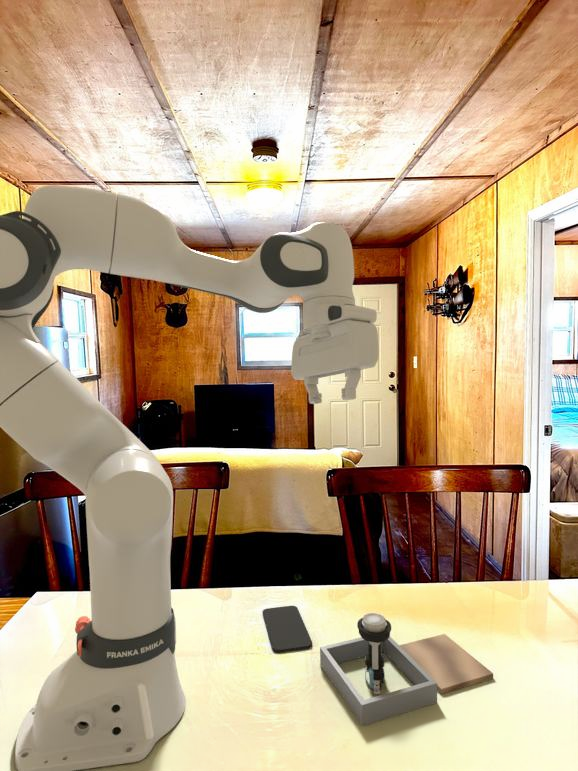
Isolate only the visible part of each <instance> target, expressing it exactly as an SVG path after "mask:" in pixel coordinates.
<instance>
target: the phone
mask: <svg viewBox="0 0 578 771" xmlns="http://www.w3.org/2000/svg"><path fill="white" fill-rule="evenodd" d="M262 616H263V620H264V625H265V629H266V632H267V635H268V636H267V637H268V640H269V642H270V645H271V650H272V652H274V653H276V654H280V653H281V654H282V653H288V652H289V653H291V652H296V651H303V650H308V649H311V648H312V647H313V640H312V639H311V636H310V633H309V632H308V629H307V627H306V625H305V622H304V620H303V618H302V615H301V613H300V611H299V609H298V607H297V606H296V605H286V606H285V605H283V606H279V607H278V606H276V607H269V608H265V609H263V610H262Z"/></svg>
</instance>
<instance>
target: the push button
mask: <svg viewBox="0 0 578 771" xmlns="http://www.w3.org/2000/svg"><path fill="white" fill-rule="evenodd" d="M357 630H358V634H359V635H360V638H361V637H362V639H364V640H366V641H368V654H366V655H365V657H364V664H365V666H366V667H365V669H364V672H365V674H364V676H365V680H367V673H368V675H369V676H368V678H369V686H370V687H369V688H370V689H373V691H374V694H375V695H379V694H380V693H381V692H380V690H382V684H384V682H385V681H386V678H385V668H384V667H385V656H384V655H383V654H382V652H381V644H380V643H381V642H384V641H385V640H387V639H388V638H389V637H391V631H392V624H391V622H390V621H389V620H387V619H386V618H385V616H384V615H383V614H380V613H376V612H369V613H366V614H364V615H363V616H362V618H360V619H358V621H357ZM380 695H381V694H380Z"/></svg>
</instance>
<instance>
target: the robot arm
mask: <svg viewBox="0 0 578 771" xmlns="http://www.w3.org/2000/svg"><path fill="white" fill-rule="evenodd" d="M23 210H24V211H21V210H20V211H19V210H14V211H11V212H8V213H4V214H1V215H0V428H1V429H2V430H3V431H4V433H6V434H7V435H8V436H9V437H10V438H11V439H12V440H14V441H15V442H16V443H17V444H18V445H19V446H20V447H21V448H22V449H23V450H25V451H26V452H27V453H28V454H29V455H30V456H31V457H32V458H33V459H34V460H36V461H37V462H40V463H42V464H43V465H45V466H46V467H48V468H49V469H51V470H52V471H54V472H55V473H57V474H58V475H60V476H62V477H63V478H64V479H65V480H67V481H68V482H70V484H72V485H73V486H75V487H76V488H77V489H79V491H81V493H83V495H84V496H85V518H86V535H87V536H86V538H87V551H88V552H87V553H88V567H89V583H90V584H89V586H90V587H89V589H90V609H91V610H90V611H91V613H90V614H91V618H89V617H88V616H87V615H82V616H80V617H78V618H77V620H76V621H75V628H74V632H75V634H76V644H75V645H76V651H75V652H74V653H72V654H71V655H70V656H69V657H67V659H65V660H64V661H63V662H62V663H60V664H59V665H58V666H57V667H56V668H54V669H53V670H52V671H51V672H50V674H49V675H48V676H47V677H46V679H45V681H44V683H43V684H42V686H41V688H40V691H39V694H38V697H37V699H36V702H35V704H34V705H33V706H32V707H31V708H30V710H28V712H27V714H26V715H25V716H24V718H23V721H22V723H21V724H20V727H19V729H18V733H17V736H16V740H15V741H16V742H15V748H14V762H15V764H14V765H15V767H16V770H17V771H79V770H87V769H94V768H101V767H109V766H114V765H115V766H116V765H122V764H123V765H124V764H130V763H136V762H141V761H142V760H144V759H145V758H146V757H147V756H148V755H149V754H150V753H151V751H152V749H153V748H154V746H155V745H156V743H157V742H158V741H159V740H160V739H161V738H162V737H164V736H165V735H166V734H167V733H169V732H170V731H171V730H172V729H173V728H175V726H176V725H177V724H178V723H179V720H180V719H181V718H182V717H183V714H184V711H185V709H186V704H187V703H186V696H185V693H184V691H183V690H184V689H183V688H182V685H181V681H180V678H179V673H178V667H177V662H176V656H175V651H176V644H177V625H176V617H175V613H174V608H173V607H172V592H171V590H172V589H171V586H172V585H171V550H172V541H173V540H172V539H173V537H172V536H173V522H174V521H173V517H174V515H173V512H174V490H173V484H172V481H171V479H170V477H169V475H168V472H166V470H165V469H164V467H163V465H162V464H161V463H160V460H158V457H157V456H156V455H155V454H154V452H152V451H151V450H150V449H149V448H148V447H147V446H146V445H145V444H144V443H143V442H142V441H141V440H140V439H139V438H138V437H137V436H136V435H135V433H133V432H132V431H131V430H130V429H129V428H128V427H127V426H126V425H125V424H123V422H122V421H121V420H119V418H117V417H116V416H115V415H114V414H113V413H112V412H111V411H110V410H109V409H108V408H107V407H106V406H105V405H104V404H103V403H102V402H100V400H98V398H97V397H95V396H94V394H93V393H92V392H91V391H90V390H88V388H87V387H86V386H85V385H84V384H83V383H82V382H81V381H80V380H79V379H78V378H77V377H76V376H75V375H74V374H73V373H72V372H71V371H70V370H69V369H68V368H67V367H66V366H65V365H64V364H63V363H62V362H61V361H59V359H58V358H57V357H56V355H55V354H53V353H52V352H51V351H50V350H49V349H48V348H47V347H46V346H45V345H44V344H43V343H42V342H41V340H40V339H39V337H37V334H36V333H35V332H34V330H33V329H34V327H35V326H36V325H37V323H38V322H39V320H40V319H41V317H42V316H43V314H44V313H45V312H46V310H47V309H48V307H49V306H50V304H51V301H52V299H53V296H54V289H55V288H54V287H55V286H54V285H55V284H54V283H55V279H56V277H57V276H58V275H60V274H62V273H64V272H68V271H71V270H85V269H86V270H90V271H95V272H99V273H105V274H109V275H117V276H123V277H129V278H135V279H143V280H151V281H156V282H159V283H160V282H161V283H166V284H170V285H173V286H177V287H181V288H186V289H189V290H193V291H198V292H203V293H207V294H212V295H216V296H220V297H224V298H228V299H230V300H232V301H234V302H236V303H238V304H239V305H241V306H242V307H244V308H245V309H247V310H249V311H251V312H255V313H258V314H259V313H260V314H266V313H270V312H274V311H275V310H277V309H278V308H279V307H281V306H282V305H283V304H284V303H285V302H286V301H287V300H288V299H290V298H291V297H293V296H295V297H300V298H301V299H302V311H303V314H302V316H303V329H302V330H300V331H299V333H298V334H297V337H296V339H295V341H294V343H293V345H292V353H291V366H290V367H291V370H290V371H291V372H290V373H291V376H292V378H293V379H294V380H297V381H304V383H303V384H304V386H305V390H306V392H307V394H308V403H309V404H310V405H311V404H312V405H316V404H321V403H323V402H322V401H323V399H322V397H323V396H322V395H323V394H322V393H320V392H319V389H318V385H319V379H320V378H321V379H322V378H327V377H331V376H336V375H342V374H344V377H346V380H345V384H344V387H342V388H341V399H342V400H344V401H352V400H356V399H357V388H358V386H359V382H360V379H361V378H362V376H361V374H362V372H361V370H367V369H368V370H369V369H372V368H375V367H376V365H377V363H378V360H379V357H380V356H379V350H380V349H379V335H378V329H377V326H376V325H375V323H376V322H377V318H378V317H377V316H378V314H377V313H378V312H377V310H375V309H373V308H369V307H364V306H359V305H356V298H355V296H354V295H355V294H354V292H353V285H354V280H355V265H354V264H355V261H354V252H353V246H352V242H351V239H350V236H349V234H348V232H347V231H346V230H345V228H344V227H342V226H340V225H337V224H336V223H332V222H327V221H325V222H324V221H323V222H322V221H321V222H315V223H312V224H310V225H309V226H308V227H307V228H304V229H302V230H300V231H296V232H278V233H275V234H271V236H269V237H268V238H267V239H265V240H264V241H263V243H261V244H260V245H259V247H257V249H256V250H255V251H254V252H253V254H252V255H250V257H247V258H245V259H242V260H229V259H225V258H221V257H218V256H215V255H210V254H207V253H203V252H200V251H198V250H197V251H196V250H194V249H191V248H190V247H188V246H187V245H186V244H184V242H183V241H182V240H181V238H180V236H179V234H178V232H177V229H176V227H175V224H174V222H173V221H172V219H171V218H170V217H169V215H168V214H167V213H166V212H165V211H164V209H162V208H161V207H159V206H158V205H155V204H152V203H150V202H147V201H145V200H143V199H140V198H137V197H134V196H133V197H132V196H129V195H125V194H120V193H116V192H111V191H106V190H101V189H94V188H89V187H88V188H87V187H81V186H67V185H43V186H40V187H38V188H37V189H36V190H34V191H33V192H32V193H31V195H30V196H29V198H28V199H27V202H26V203H25V205H24V209H23ZM21 216H22V217H21Z"/></svg>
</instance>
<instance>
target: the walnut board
mask: <svg viewBox="0 0 578 771" xmlns="http://www.w3.org/2000/svg"><path fill="white" fill-rule="evenodd" d="M398 645H399V646H400V647H401V648H402V649H403V650H404V651H405V652H406V653H407V654H408V655H409V656H410V657H411V658H412V659H413V660H414V661H415V662H416V663H417V664H418V665H419V666H420V667H421V668H422V669H423V670H424V671H425V672H426V673H427V674H428V675H429V676H430V677H431V678H432V679H434V680H435V681H436V682H437V692H438V693H439V694H441V695H442V694H446V693H450V692H452V691H457V690H459V689H462V688H466V687H469V686H472V685H476V684H478V683H479V684H480V683H482V682H486V681H489V680H493V679H494V672H492V671H491V670H490V669H488V668H487V667H486V666H485V665H484V664H482V663H481V661H478V659H476V658H475V657H474V656H473V655H471V654H470V653H469V652H467V651H466V649H465V648H463V647H462V646H460V645H459V644H458V643H457V642H455V641H454V640H453V639H452V638H450V636H448V635H447V634H445V633H443V634H439V635H435V636H431V637H427V638H423V639H419V640H415V641H411V642H407V643H403V644H398Z"/></svg>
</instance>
